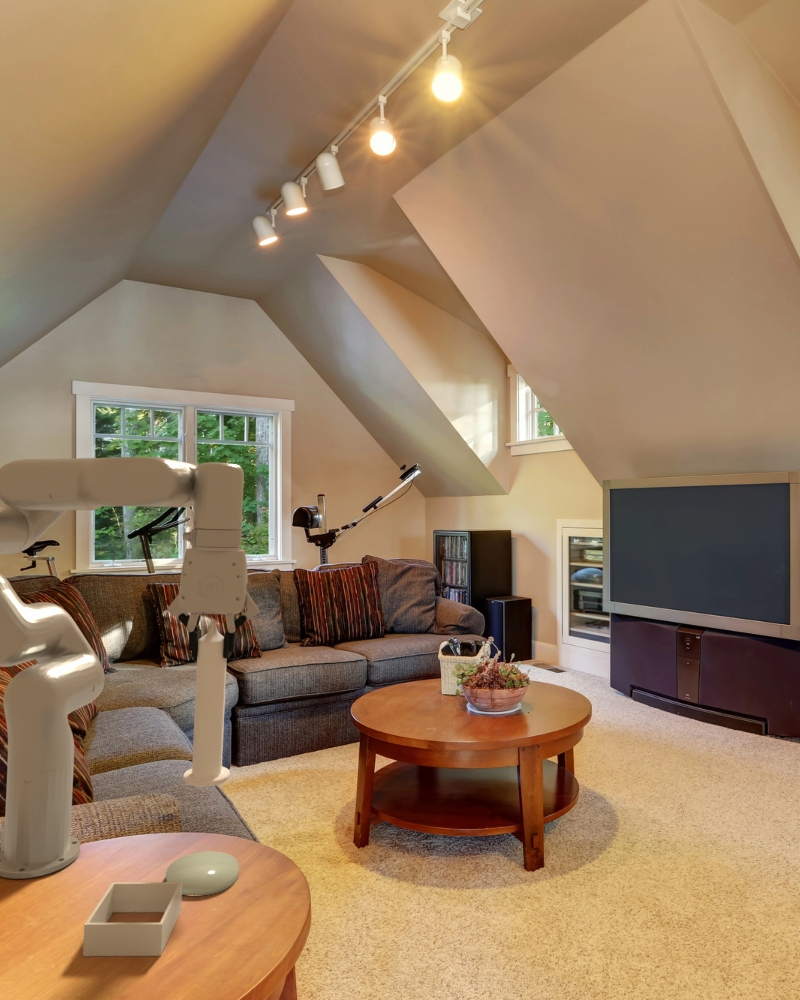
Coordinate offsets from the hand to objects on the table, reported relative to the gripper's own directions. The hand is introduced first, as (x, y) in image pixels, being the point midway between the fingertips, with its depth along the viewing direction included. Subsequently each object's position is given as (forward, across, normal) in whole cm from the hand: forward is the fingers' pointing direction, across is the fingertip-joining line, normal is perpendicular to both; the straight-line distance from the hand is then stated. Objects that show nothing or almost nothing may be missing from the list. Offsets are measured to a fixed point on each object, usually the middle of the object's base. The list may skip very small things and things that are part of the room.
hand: (211, 655), depth 106 cm
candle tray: (+35, -6, -14) cm, 38 cm away
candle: (+20, 0, 0) cm, 20 cm away
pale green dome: (+35, 0, 0) cm, 35 cm away
